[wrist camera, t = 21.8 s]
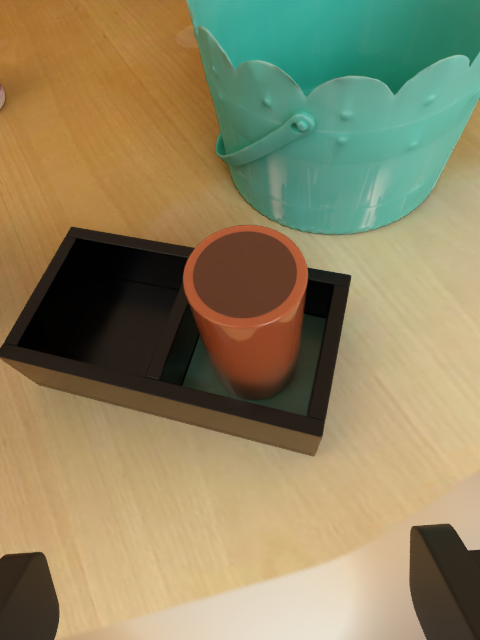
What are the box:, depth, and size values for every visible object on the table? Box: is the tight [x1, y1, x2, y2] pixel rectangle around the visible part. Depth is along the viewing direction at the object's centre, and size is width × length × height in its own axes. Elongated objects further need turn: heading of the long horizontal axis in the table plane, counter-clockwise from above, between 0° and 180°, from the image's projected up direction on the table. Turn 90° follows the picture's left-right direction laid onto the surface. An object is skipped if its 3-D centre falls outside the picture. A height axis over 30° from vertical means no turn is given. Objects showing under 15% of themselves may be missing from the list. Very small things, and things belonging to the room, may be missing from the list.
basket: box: [186, 0, 480, 235], centre depth 29 cm, size 19×18×13 cm
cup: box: [183, 225, 308, 400], centre depth 21 cm, size 5×5×9 cm
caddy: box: [0, 227, 351, 456], centre depth 25 cm, size 9×17×5 cm, turn 75°
